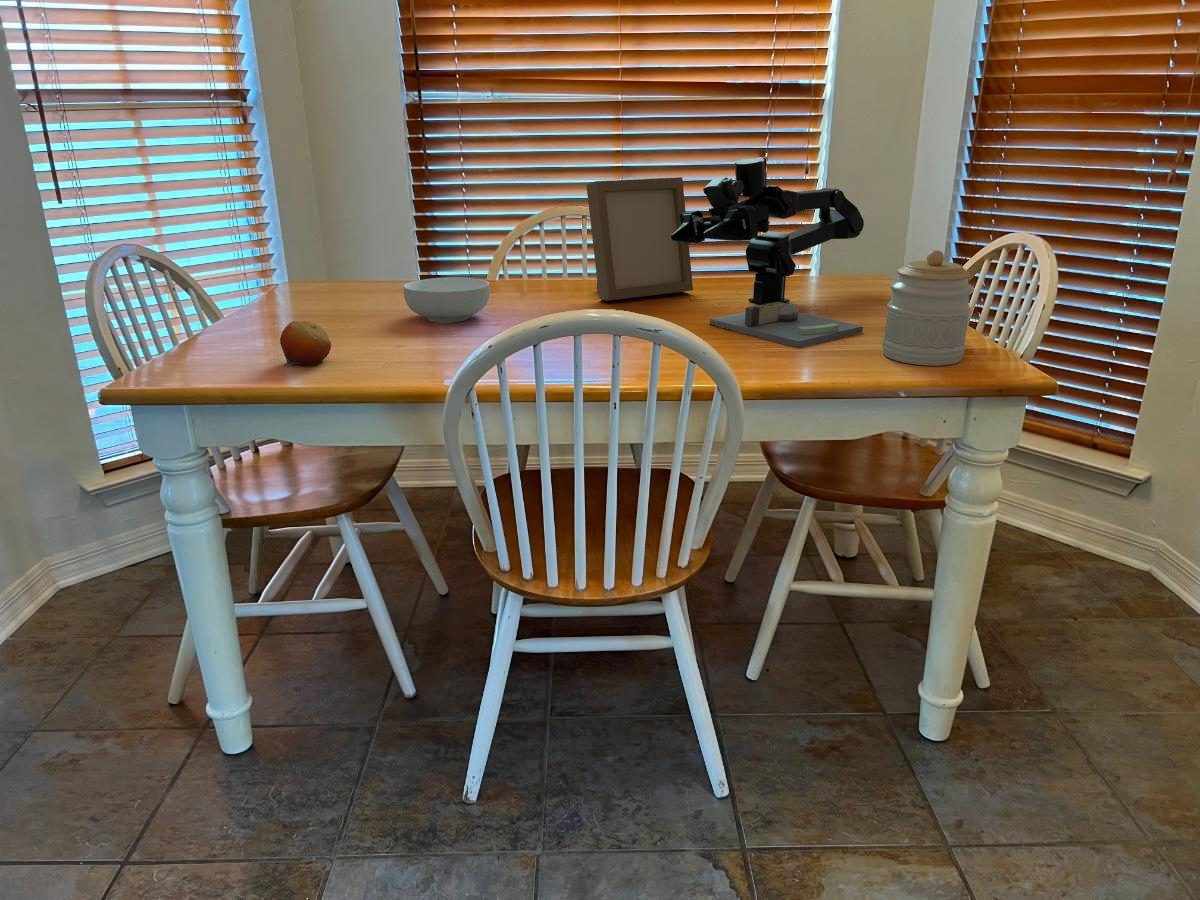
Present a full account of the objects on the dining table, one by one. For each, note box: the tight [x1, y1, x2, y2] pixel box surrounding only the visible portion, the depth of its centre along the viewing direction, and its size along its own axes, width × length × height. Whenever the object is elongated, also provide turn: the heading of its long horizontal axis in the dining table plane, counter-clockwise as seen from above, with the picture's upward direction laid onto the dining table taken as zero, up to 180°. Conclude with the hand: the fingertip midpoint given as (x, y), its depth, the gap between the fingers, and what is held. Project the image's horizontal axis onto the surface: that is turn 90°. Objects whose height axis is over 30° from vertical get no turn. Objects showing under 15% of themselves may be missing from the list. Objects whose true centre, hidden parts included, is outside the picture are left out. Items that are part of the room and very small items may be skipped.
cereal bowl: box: [402, 276, 491, 324], centre depth 172 cm, size 17×17×7 cm
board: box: [709, 311, 864, 349], centre depth 163 cm, size 18×22×2 cm
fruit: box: [279, 320, 332, 368], centre depth 141 cm, size 8×8×8 cm
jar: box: [882, 249, 975, 367], centre depth 142 cm, size 13×13×18 cm
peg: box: [745, 302, 799, 326], centre depth 163 cm, size 12×5×3 cm, turn 127°
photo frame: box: [586, 176, 694, 302], centre depth 191 cm, size 15×22×25 cm
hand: (687, 236), depth 166 cm, fingers open, 9 cm apart
